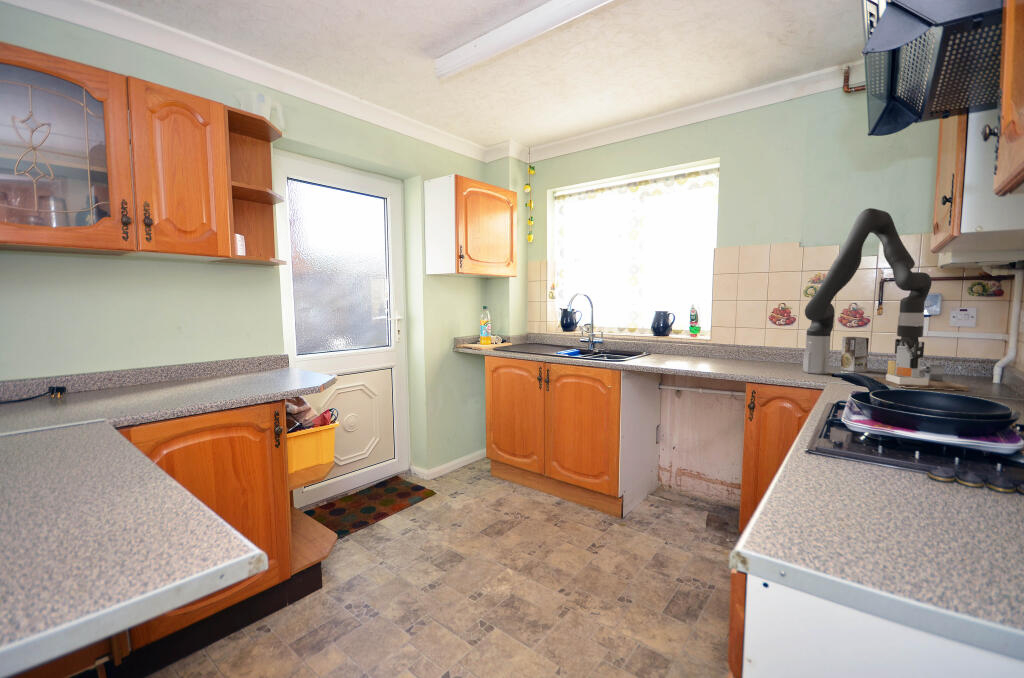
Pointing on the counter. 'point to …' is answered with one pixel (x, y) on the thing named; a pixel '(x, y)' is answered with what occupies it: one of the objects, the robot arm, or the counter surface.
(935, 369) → the bearing block
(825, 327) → the robot arm
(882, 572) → the counter surface
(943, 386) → the base plate
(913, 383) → the sleeve
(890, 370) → the shaft
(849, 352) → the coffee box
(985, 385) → the counter surface
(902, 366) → the skincare box
